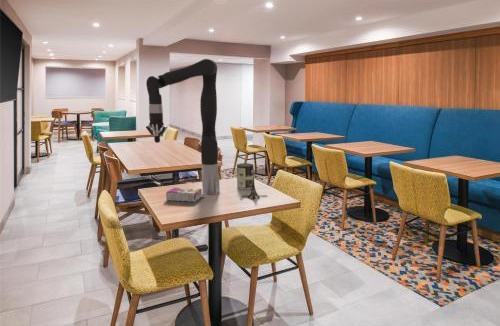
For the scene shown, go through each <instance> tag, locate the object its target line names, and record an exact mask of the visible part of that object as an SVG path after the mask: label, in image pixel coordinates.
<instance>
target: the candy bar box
mask: <svg viewBox="0 0 500 326" xmlns="http://www.w3.org/2000/svg"><path fill="white" fill-rule="evenodd" d="M202 196H203V191H202V188H195V187H194V188H191V187H173V188H171V189H169V190H168V191H166V193H165V198H166V201H185V202H196V201H197V200H198V199H199V198H201V197H202Z"/></svg>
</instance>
